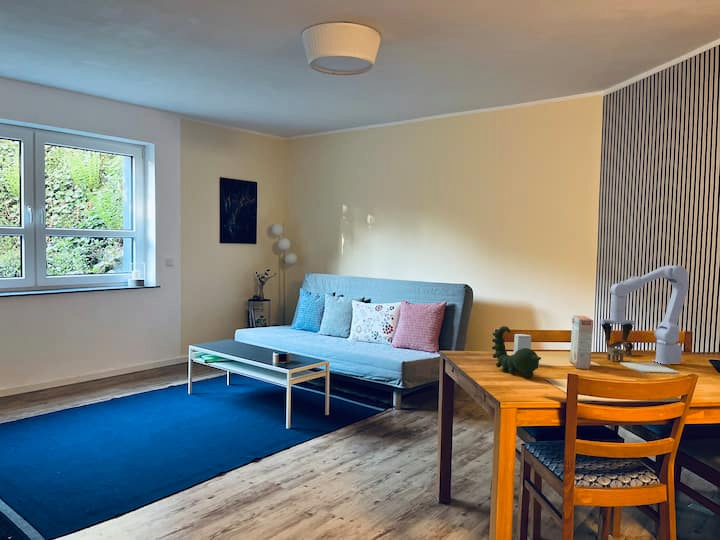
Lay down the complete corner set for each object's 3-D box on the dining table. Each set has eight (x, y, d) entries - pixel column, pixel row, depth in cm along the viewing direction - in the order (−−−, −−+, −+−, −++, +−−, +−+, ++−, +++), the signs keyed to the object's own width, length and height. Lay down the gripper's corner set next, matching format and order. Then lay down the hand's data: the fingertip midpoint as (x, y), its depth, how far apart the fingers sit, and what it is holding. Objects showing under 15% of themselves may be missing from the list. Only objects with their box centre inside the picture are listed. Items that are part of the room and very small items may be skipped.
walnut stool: (617, 359, 240) (617, 347, 240) (623, 362, 235) (623, 350, 235) (607, 359, 240) (607, 347, 240) (612, 361, 235) (613, 349, 235)
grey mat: (655, 364, 232) (655, 363, 232) (678, 373, 216) (679, 371, 216) (620, 363, 231) (620, 362, 231) (641, 372, 216) (641, 371, 215)
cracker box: (591, 370, 217) (594, 319, 216) (575, 369, 218) (578, 318, 217) (583, 363, 231) (586, 315, 230) (569, 361, 232) (571, 314, 231)
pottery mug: (624, 358, 246) (615, 342, 249) (610, 363, 255) (602, 347, 257) (642, 350, 251) (633, 335, 253) (628, 355, 259) (619, 340, 262)
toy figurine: (487, 372, 214) (531, 381, 191) (486, 325, 215) (530, 329, 192) (505, 370, 218) (550, 379, 195) (504, 324, 219) (549, 328, 196)
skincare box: (517, 363, 224) (518, 335, 224) (512, 361, 229) (513, 333, 228) (530, 363, 225) (532, 335, 225) (525, 361, 230) (527, 333, 229)
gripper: (628, 309, 241) (626, 339, 241) (597, 308, 240) (596, 338, 241) (637, 311, 234) (635, 341, 234) (605, 310, 233) (604, 341, 234)
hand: (616, 340), depth 237 cm, fingers open, 7 cm apart
